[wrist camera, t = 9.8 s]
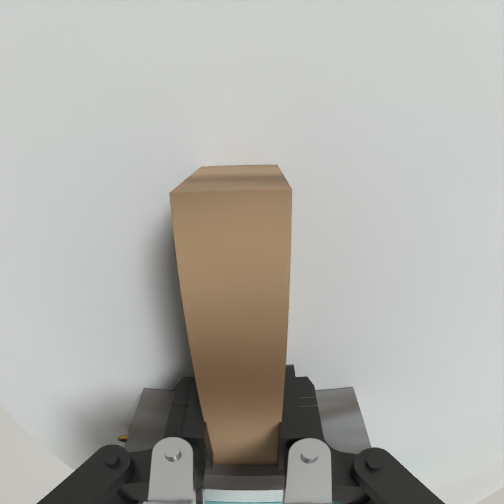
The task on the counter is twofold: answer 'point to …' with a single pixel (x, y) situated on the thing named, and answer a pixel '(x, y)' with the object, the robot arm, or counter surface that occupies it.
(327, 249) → the counter surface
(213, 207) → the hammer
